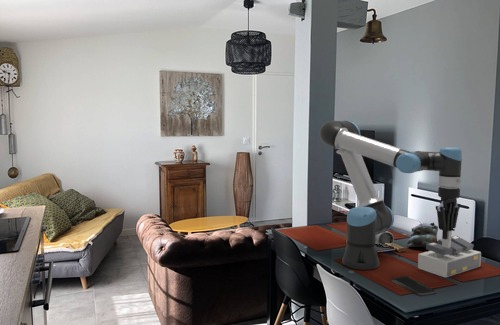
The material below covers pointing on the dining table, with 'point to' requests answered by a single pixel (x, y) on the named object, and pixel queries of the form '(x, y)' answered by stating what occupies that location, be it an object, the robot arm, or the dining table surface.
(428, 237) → the lucky cat figurine
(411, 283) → the phone
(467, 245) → the rocker
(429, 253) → the switch unit
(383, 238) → the ceramic mug
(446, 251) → the block
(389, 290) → the dining table surface
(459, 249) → the rocker
